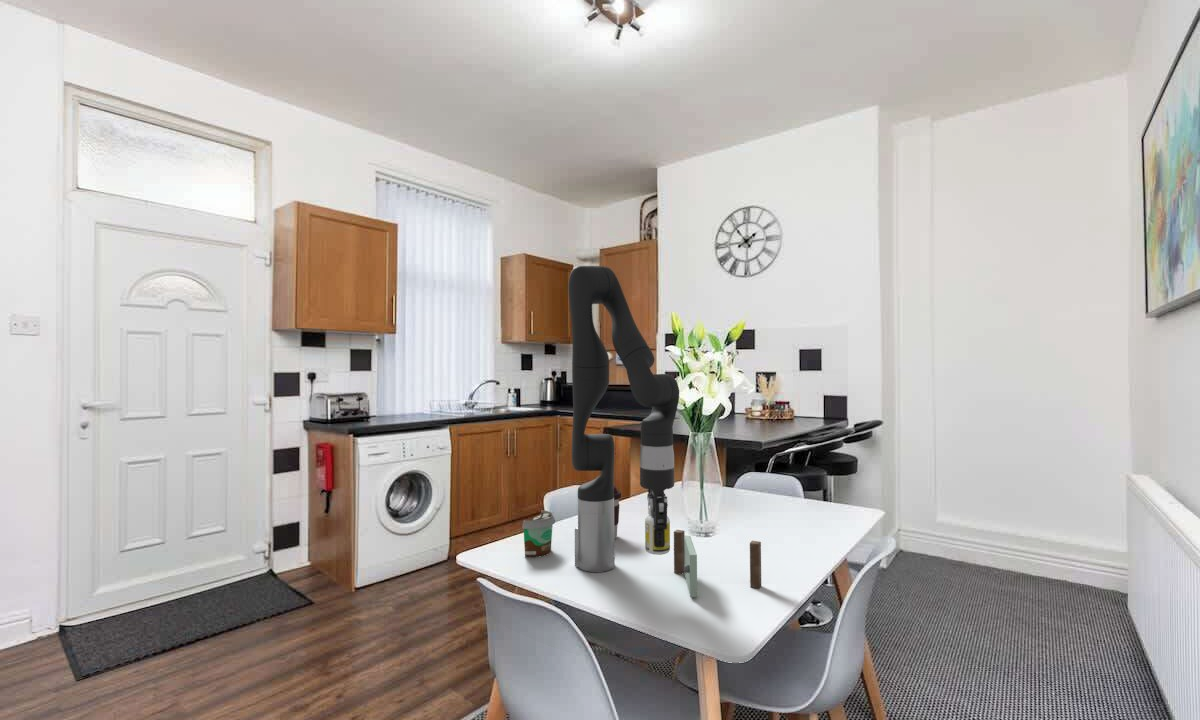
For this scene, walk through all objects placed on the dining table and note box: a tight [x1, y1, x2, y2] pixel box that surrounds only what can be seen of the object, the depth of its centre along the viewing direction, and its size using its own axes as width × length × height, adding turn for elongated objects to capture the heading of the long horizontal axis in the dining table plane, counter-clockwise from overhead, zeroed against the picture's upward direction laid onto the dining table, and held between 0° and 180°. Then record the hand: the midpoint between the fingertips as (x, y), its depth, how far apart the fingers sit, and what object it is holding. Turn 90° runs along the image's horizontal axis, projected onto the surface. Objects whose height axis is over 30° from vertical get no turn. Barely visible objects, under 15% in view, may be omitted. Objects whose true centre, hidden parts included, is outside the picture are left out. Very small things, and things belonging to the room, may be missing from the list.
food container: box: [522, 509, 556, 558], centre depth 150 cm, size 12×6×10 cm, turn 161°
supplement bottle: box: [644, 505, 671, 556], centre depth 121 cm, size 5×5×10 cm
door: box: [683, 535, 698, 598], centre depth 126 cm, size 14×3×9 cm, turn 176°
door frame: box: [673, 529, 762, 590], centre depth 130 cm, size 20×2×10 cm, turn 60°
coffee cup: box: [614, 485, 622, 540], centre depth 164 cm, size 10×10×15 cm
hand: (657, 541), depth 121 cm, fingers closed on supplement bottle, 5 cm apart
